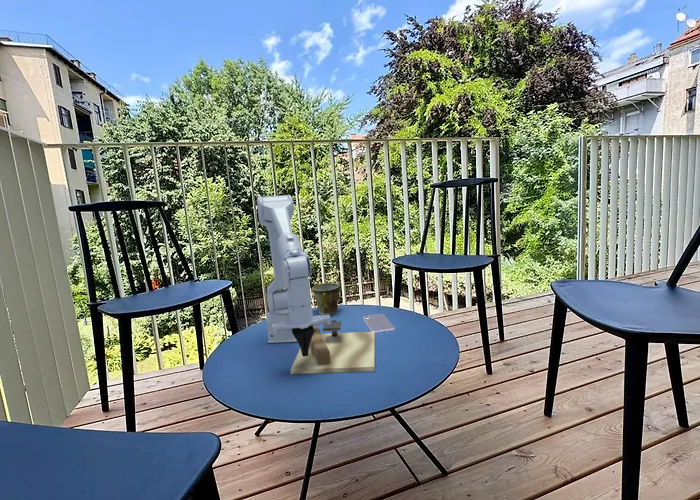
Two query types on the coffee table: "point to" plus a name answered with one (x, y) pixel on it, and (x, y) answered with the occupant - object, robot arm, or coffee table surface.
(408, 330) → the coffee table surface
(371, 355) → the base plate
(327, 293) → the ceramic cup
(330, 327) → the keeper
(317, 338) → the link
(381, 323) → the mobile phone
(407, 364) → the coffee table surface
